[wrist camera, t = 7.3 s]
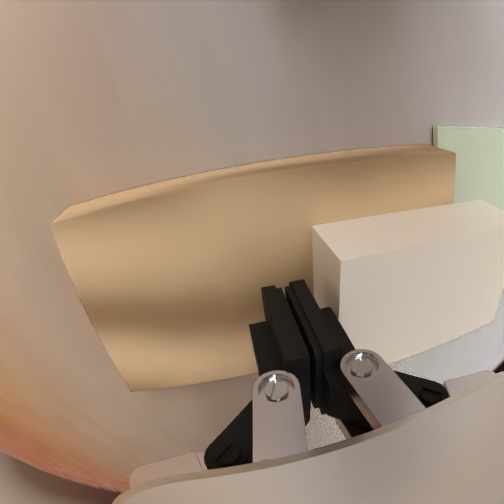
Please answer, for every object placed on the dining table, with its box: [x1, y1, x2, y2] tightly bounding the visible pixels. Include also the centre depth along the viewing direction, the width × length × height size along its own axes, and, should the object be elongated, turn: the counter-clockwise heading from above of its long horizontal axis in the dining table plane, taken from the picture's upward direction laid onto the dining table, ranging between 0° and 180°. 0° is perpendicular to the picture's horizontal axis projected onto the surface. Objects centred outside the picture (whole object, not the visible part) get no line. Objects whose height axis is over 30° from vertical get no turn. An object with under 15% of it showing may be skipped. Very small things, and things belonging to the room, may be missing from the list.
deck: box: [49, 144, 456, 392], centre depth 15 cm, size 10×18×2 cm, turn 98°
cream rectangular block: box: [312, 200, 504, 364], centre depth 13 cm, size 6×10×3 cm, turn 97°
